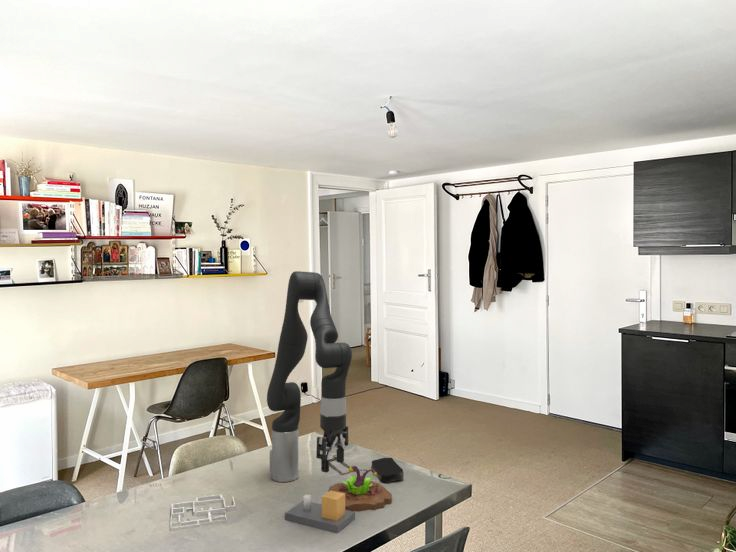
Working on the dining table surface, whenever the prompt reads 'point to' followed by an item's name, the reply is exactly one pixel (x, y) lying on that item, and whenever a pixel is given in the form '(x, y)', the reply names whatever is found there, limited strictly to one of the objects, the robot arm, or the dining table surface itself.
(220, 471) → the dining table surface
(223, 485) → the dining table surface
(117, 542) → the dining table surface
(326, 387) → the robot arm
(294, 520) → the board
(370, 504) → the plant
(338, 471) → the hacksaw
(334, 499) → the pale orange cube
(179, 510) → the floor plan model
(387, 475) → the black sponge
